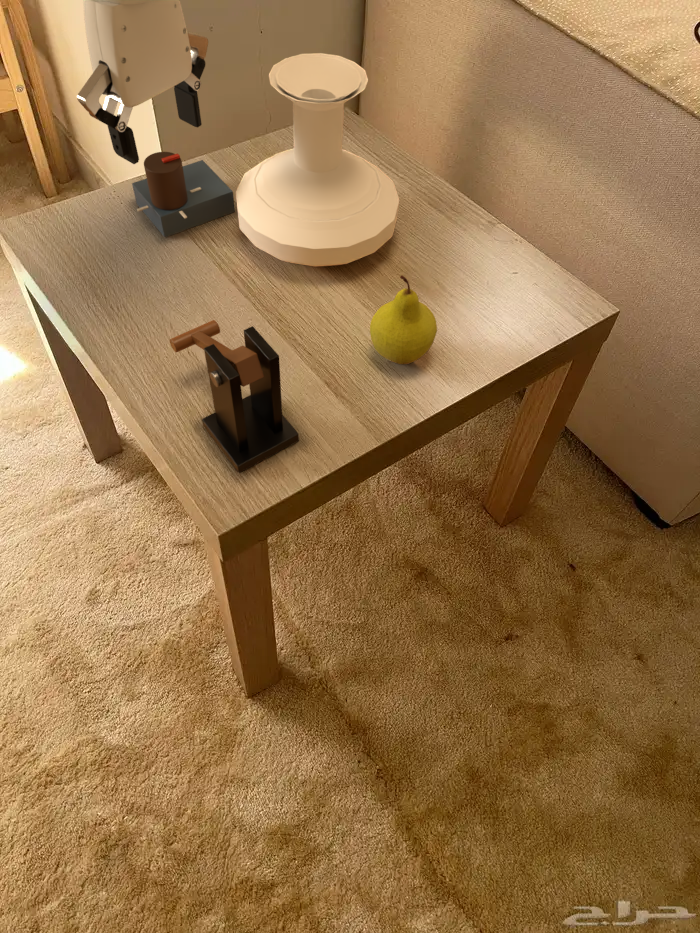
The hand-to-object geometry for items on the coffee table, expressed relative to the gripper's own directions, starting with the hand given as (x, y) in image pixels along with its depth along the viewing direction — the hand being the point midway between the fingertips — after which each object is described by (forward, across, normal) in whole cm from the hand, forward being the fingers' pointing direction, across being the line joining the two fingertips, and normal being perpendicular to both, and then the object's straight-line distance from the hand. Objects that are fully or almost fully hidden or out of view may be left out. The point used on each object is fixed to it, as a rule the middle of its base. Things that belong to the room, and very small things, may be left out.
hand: (160, 140), depth 81 cm
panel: (+11, -1, 0) cm, 11 cm away
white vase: (+11, -10, +15) cm, 21 cm away
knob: (+8, 0, 0) cm, 8 cm away
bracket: (+10, +19, +30) cm, 37 cm away
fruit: (+11, 0, +36) cm, 37 cm away
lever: (+4, +18, +27) cm, 32 cm away
